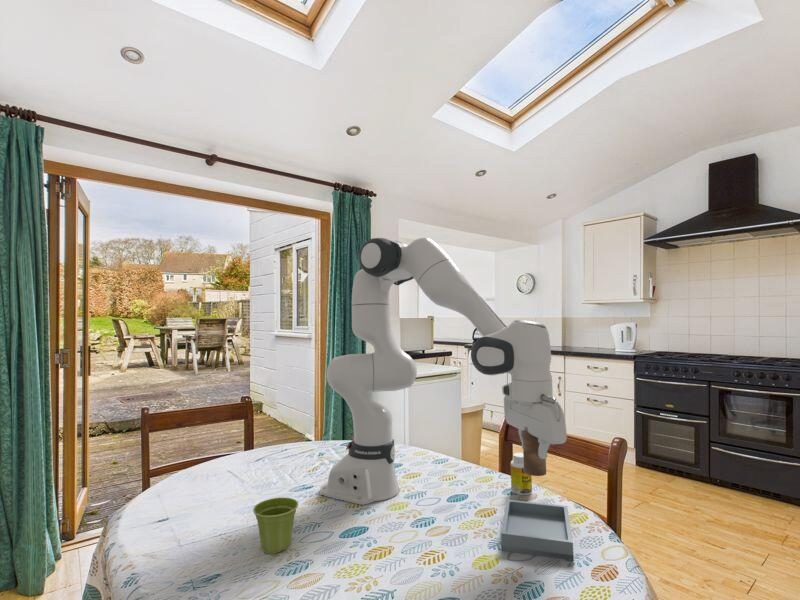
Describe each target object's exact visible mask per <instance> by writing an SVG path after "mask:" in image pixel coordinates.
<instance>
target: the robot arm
mask: <svg viewBox="0 0 800 600" xmlns="http://www.w3.org/2000/svg"><path fill="white" fill-rule="evenodd" d="M358 262H359V265H360V267H361V269H360V270H358V271H357V272H356V273H355V275H354V277H353V283H352V290H351V291H352V292H351V330H352V332H353V334H354V336H355V337H356V338H358V339H360V340H362V341H364V342H366V343H367V344H370V345H371V346H372V347H373V351H374V352H371V353H350V354H345V355H339V356H335V357H333V358H332V359H331V360H330V362H329V364H328V366H327V367H326V368H327V369H326V381H327V383H328V385H329V386H330V387H329V388H331V389H332V390H333V391H334V392H335V393H337V394H338V395H340V396H341V398H343V400H344V401H345V402H346V404H347V406H348V407H349V408H348V409H349V410H350V412H351V417H352V424H353V438H352V439H351V441H350V442H348V444H346V446H345V447H346V448H345V450H346V451H347V450H348V454H346V455H345V456H344V457H342V458H341V459H340V460H339V461H337V462H336V463H335V464H333V466H332V467H331V469H330V471H329V474H328V478H327V481H325V482H324V483H323V484H322V485H321V486H320V489H319V495H320V494H321V496H322V495H324V496H323V497H326V496H327V497H326V498H330V497H332V498H331V499H335V498H336V500H339V499H340V500H339V501H343V500H344V502H347V503H353V504H356V505H360V506H361V505H368V504H371V503H374V502H380V501H385V500H387V499H388V500H389V499H391V498H393V497H395V496H396V495H397V494H399V492H400V486H399V483H398V482H399V481H398V479H397V475H396V474H397V473H396V469H395V468H396V467H395V457H396V448H395V439H393V437H394V436H393V432H394V431H393V414H392V412H391V410H390V409H389V408H388V407H387V406H385V405H383V404H381V403H378V402H377V401H374V400H373V399H372V398H371V393H376V392H378V393H379V392H396V391H401V390H404V389H408V388H410V387H412V385H413V384H414V382H415V381H416V379H417V372H418V370H417V366H416V362H415V360H414V359H413V358H412V357H411V355H410V354H408V353H406V352H405V351H404V350H403V349H402V348H401V346H399V344H398V343H397V341H396V339H395V338H394V334H393V331H392V324H391V311H390V289H391V287H392V285H393V284H394V285H395V286H400V285H402V284H404V283H406V282H409V281H411V280H413V279H414V280H415V282H416V283H417V285H418V287H420V289H421V291H422V292H423V293H424V295H426V297H427V298H428V299H429V300H430V301H432V303H434V304H435V305H437V306H439V307H443V308H445V309H449V310H451V311H454V312H456V313H458V314H460V315H462V316H464V317H465V318H467V319H468V320H469V321H470V323H471V324H472V325H473V326H474V327H475V328H476V330H477V331H478V332H479V333H480V335H481V337H479V338H477V339H476V340H475V342H473V344H472V347H471V350H470V358H471V363H472V365H473V366H474V368H475V369H476V371H478V372H479V373H481V374H483V375H486V376H487V375H488V376H499V375H503V374H506V373H507V374H510V377H511V382H509V383H507V384H504V385H502V387H501V389H502V391H501V392H502V395H503V411H504V419H505V421H506V424H507V425H510V426H512V427H514V428H515V429H517V430H518V435H519V438H520V441H521V448H522V449H523V431H525V427H528V433H529V434H531V435H533V436H535V437H537V438H538V442H539V443H540V445H539V449H536V452H537V454H536V455H537V457H539V458H541V459H546V460H547V458H548V449H549V448H550V445H562V444H565V443H566V441H567V438H568V435H567V425H566V419H565V414H564V410H563V408H562V406H561V404H560V403H559V402H558V399H557V398H556V397H553V396H554V394H553V376H552V374H551V369H550V366H551V362H552V350H551V349H552V348H551V341H550V334H549V331H548V328H547V327H546V325H544V324H543V323H541V322H538V321H533V320H527V319H526V320H524V319H516V320H514V321H512V322H511V323H510V324H509V325H506V324H505V323H504V322H503V321H502V319H501V318H500V317H499V316H498V315H497V314H496V313H495V311H494V310H493V309H492V307H490V306H489V304H488V303H487V302H486V301H485V300H484V299H483V298H482V297H481V295H479V293H478V292H477V291H476V290H475V288H474V287H473V286H472V284H471V283H470V282H469V281H468V279H467V278H466V277H465V275H464V274H463V272H462V271H461V269H459V267H458V266H457V265H456V263H455V262H454V260H453V259H452V258H451V257H450V256H449V255H448V253H447V252H446V251H445V250H444V249H443V248H442V247H441V246H440V245H439V244H438V243H437V242H435V240H433V239H432V238H429V237H420V238H419V237H418V238H416V239H414V240H413V241H412V242H410V244H407V243H404V242H402V241H398V240H391V239H388V238H384V237H373V238H369V239H368V240H366V241H365V242H364V243H363V244H362V246H361V247H360V249H359V254H358Z"/></svg>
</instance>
